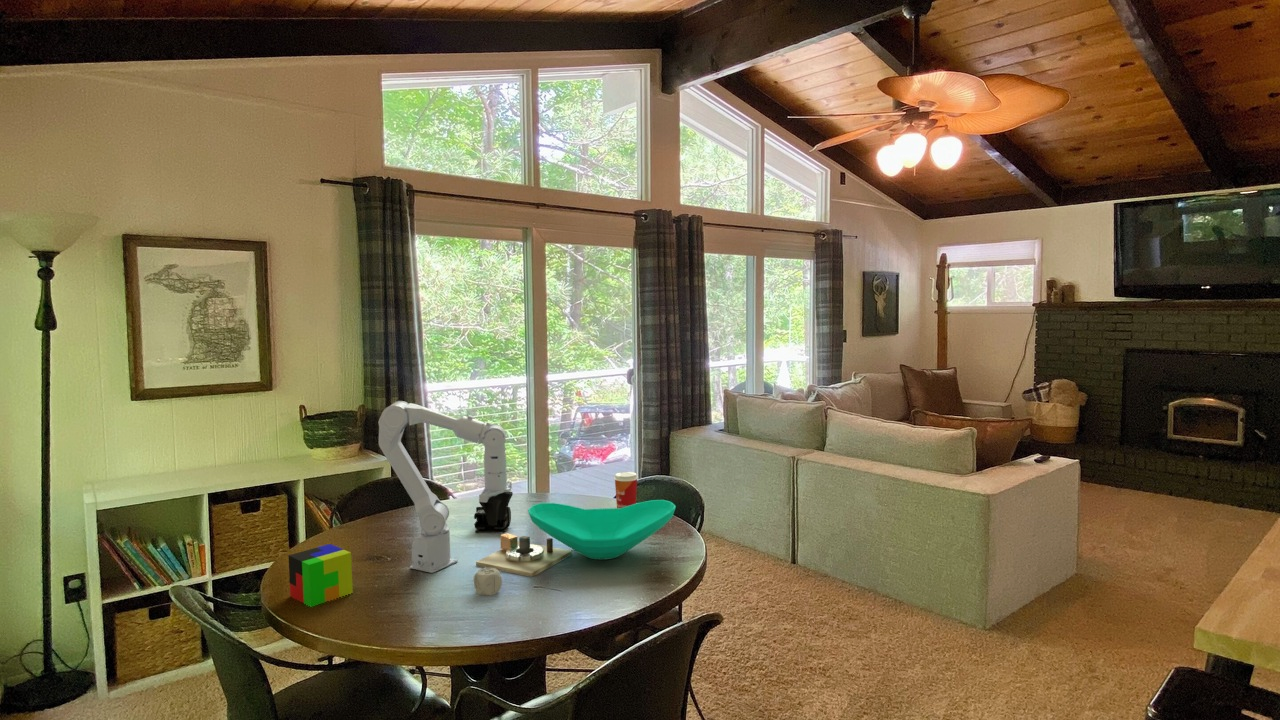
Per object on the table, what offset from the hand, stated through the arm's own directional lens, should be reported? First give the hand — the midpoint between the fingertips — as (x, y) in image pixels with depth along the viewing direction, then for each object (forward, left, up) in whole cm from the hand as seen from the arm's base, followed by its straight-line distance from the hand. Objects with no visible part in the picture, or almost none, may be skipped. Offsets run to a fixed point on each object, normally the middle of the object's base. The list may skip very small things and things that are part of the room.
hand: (496, 522), depth 187 cm
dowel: (+9, -10, -10) cm, 17 cm away
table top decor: (+16, -23, -11) cm, 30 cm away
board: (+4, -6, -10) cm, 13 cm away
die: (-17, -11, -11) cm, 23 cm away
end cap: (+21, +19, -11) cm, 30 cm away
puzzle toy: (-36, +23, -11) cm, 44 cm away
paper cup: (+49, -12, -11) cm, 51 cm away
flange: (+4, -4, -9) cm, 11 cm away
